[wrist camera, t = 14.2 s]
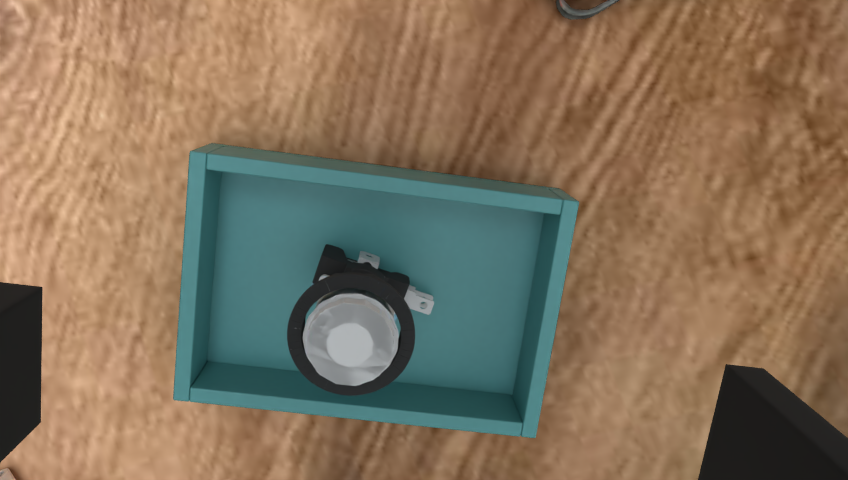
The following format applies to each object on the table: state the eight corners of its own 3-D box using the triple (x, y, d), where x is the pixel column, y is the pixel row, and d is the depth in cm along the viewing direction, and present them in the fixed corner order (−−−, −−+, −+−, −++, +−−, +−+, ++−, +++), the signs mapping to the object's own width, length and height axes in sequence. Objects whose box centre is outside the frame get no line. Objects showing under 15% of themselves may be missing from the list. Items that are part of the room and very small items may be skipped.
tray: (560, 188, 39) (579, 201, 35) (522, 404, 42) (535, 439, 38) (210, 142, 38) (189, 150, 34) (194, 368, 40) (172, 400, 36)
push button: (447, 256, 39) (465, 316, 29) (413, 344, 40) (420, 431, 30) (328, 215, 38) (307, 263, 28) (297, 307, 39) (266, 383, 29)
